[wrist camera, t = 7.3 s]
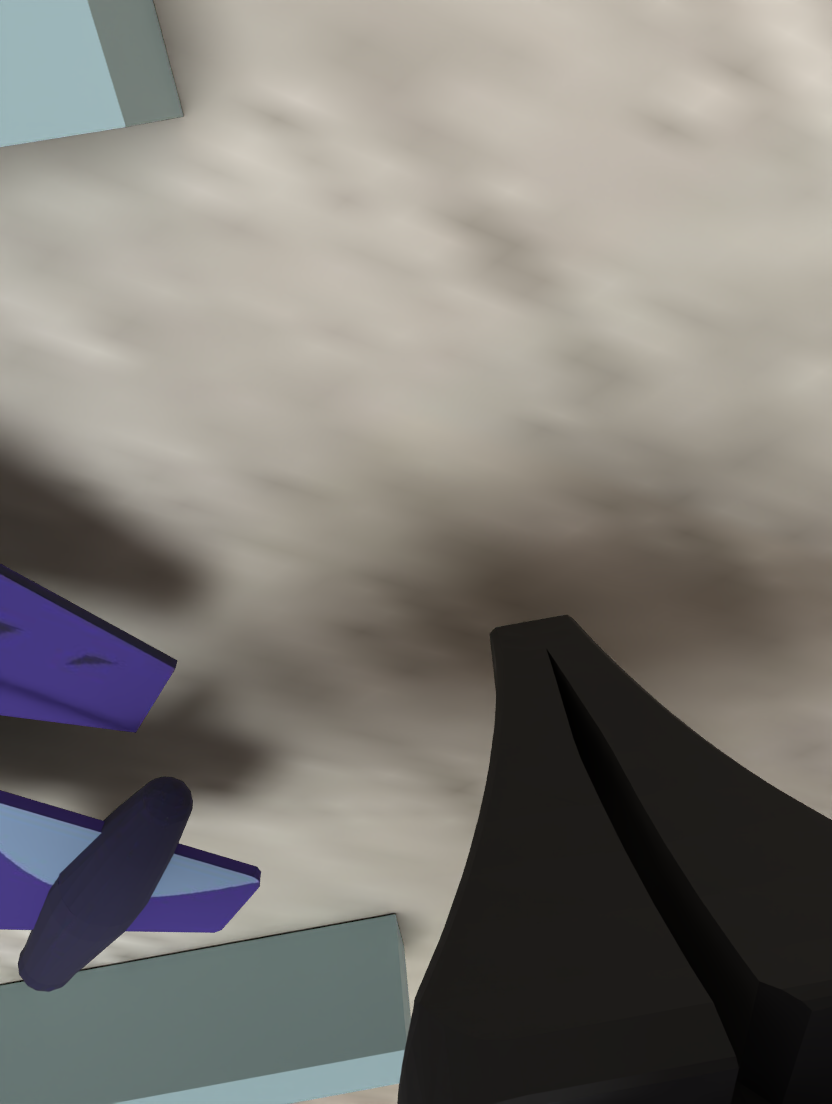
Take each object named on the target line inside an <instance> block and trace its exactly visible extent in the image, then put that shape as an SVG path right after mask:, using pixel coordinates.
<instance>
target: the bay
mask: <svg viewBox="0 0 832 1104" xmlns="http://www.w3.org/2000/svg"><path fill="white" fill-rule="evenodd" d="M178 117H184V116H183V112H182V108H181V105H180V101H179V97H178V93H177V90H176V86H175V82H174V78H173V74H172V71H171V67H170V63H169V59H168V56H167V52H166V48H165V44H164V41H163V37H162V33H161V29H160V25H159V22H158V18H157V14H156V10H155V7H154V3H153V0H0V147H4V146H10V145H17V144H23V143H29V142H35V141H42V140H48V139H54V138H60V137H67V136H73V135H79V134H85V133H92V132H98V131H104V130H110V129H117V128H123V127H129V126H134V125H140V124H145V123H151V122H156V121H162V120H167V119H173V118H178ZM410 1022H411V1016H410V1005H409V995H408V984H407V973H406V963H405V952H404V945H403V941H402V937H401V934H400V930H399V926H398V922H397V918H396V915H395V914H394V915H389V916H383V917H378V918H372V919H366V920H361V921H355V922H350V923H344V924H339V925H333V926H328V927H322V928H317V929H311V930H306V931H300V932H294V933H289V934H283V935H278V936H272V937H267V938H261V939H256V940H250V941H245V942H239V943H234V944H228V945H223V946H217V947H211V948H206V949H200V950H195V951H189V952H184V953H178V954H173V955H167V956H162V957H156V958H151V959H145V960H139V961H134V962H128V963H123V964H117V965H112V966H106V967H101V968H95V969H90V970H84V971H79V972H77V973H76V974H75V975H74V976H73V977H72V978H71V979H70V980H69V981H68V982H67V983H66V984H65V985H64V986H63V987H62V988H59V989H56V990H53V991H50V992H46V991H36V990H34V989H32V988H30V987H28V986H27V984H26V983H25V982H24V981H23V982H18V983H12V984H7V985H1V986H0V1104H290V1103H295V1102H301V1101H306V1100H312V1099H317V1098H323V1097H328V1096H333V1095H339V1094H344V1093H350V1092H355V1091H360V1090H366V1089H371V1088H377V1087H382V1086H387V1085H393V1084H398V1083H399V1082H400V1075H401V1068H402V1062H403V1057H404V1051H405V1046H406V1041H407V1036H408V1031H409V1027H410Z"/></svg>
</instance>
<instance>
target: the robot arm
mask: <svg viewBox="0 0 832 1104" xmlns="http://www.w3.org/2000/svg"><path fill="white" fill-rule="evenodd" d="M490 642H491V651H492V660H493V669H494V678H495V687H496V712H495V726H494V734H493V741H492V749H491V756H490V764H489V770H488V775H487V781H486V786H485V791H484V796H483V800H482V805H481V809H480V814H479V818H478V822H477V825H476V829H475V833H474V837H473V841H472V844H471V848H470V852H469V855H468V859H467V862H466V865H465V869H464V872H463V875H462V878H461V881H460V884H459V887H458V890H457V892H456V895H455V898H454V901H453V904H452V907H451V910H450V913H449V915H448V918H447V921H446V924H445V927H444V929H443V932H442V935H441V937H440V940H439V942H438V945H437V947H436V949H435V952H434V954H433V956H432V959H431V961H430V964H429V966H428V968H427V971H426V973H425V975H424V978H423V980H422V982H421V985H420V987H419V990H418V992H417V994H416V997H415V1000H414V1008H413V1013H412V1017H411V1022H410V1027H409V1031H408V1036H407V1041H406V1046H405V1051H404V1057H403V1062H402V1068H401V1075H400V1082H399V1091H398V1104H832V820H831V819H829V818H827V817H825V816H824V815H822V814H820V813H818V812H817V811H815V810H813V809H811V808H810V807H808V806H806V805H804V804H803V803H801V802H799V801H797V800H796V799H794V798H792V797H791V796H789V795H787V794H785V793H784V792H782V791H780V790H778V789H777V788H775V787H774V786H772V785H771V784H769V783H767V782H766V781H764V780H763V779H761V778H760V777H758V776H757V775H755V774H753V773H752V772H750V771H749V770H747V769H746V768H744V767H743V766H742V765H740V764H739V763H737V762H736V761H734V760H733V759H731V758H730V757H729V756H727V755H726V754H724V753H723V752H721V751H720V750H719V749H717V748H716V747H715V746H713V745H712V744H710V743H709V742H708V741H706V740H705V739H704V738H702V737H701V736H700V735H699V734H697V733H696V732H695V731H693V730H692V729H691V728H690V727H688V726H687V725H686V724H685V723H683V722H682V721H681V720H680V719H678V718H677V717H676V716H675V715H673V714H672V713H671V712H670V711H669V710H667V709H666V708H665V707H664V706H663V705H661V704H660V703H659V702H658V701H657V700H656V699H654V698H653V697H652V696H651V695H650V694H649V693H648V692H647V691H646V690H644V689H643V688H642V687H641V686H640V685H639V684H638V683H637V682H636V681H634V680H633V679H632V678H631V677H630V676H629V675H628V674H627V673H626V672H625V671H624V670H623V669H621V668H620V667H619V666H618V665H617V664H616V663H615V662H614V661H613V660H612V659H611V658H610V657H609V656H608V655H607V654H606V653H605V652H604V651H603V650H602V649H601V648H600V647H599V646H598V645H597V644H596V643H595V642H594V641H593V640H592V639H591V638H590V636H589V635H588V634H587V633H586V632H585V631H584V630H583V629H582V628H581V627H580V626H579V625H578V624H577V622H576V621H575V620H574V619H573V618H571V617H570V616H568V615H562V616H557V617H551V618H546V619H540V620H534V621H529V622H523V623H518V624H512V625H507V626H501V627H496V628H495V629H494V630H493V631H492V632H491V633H490Z"/></svg>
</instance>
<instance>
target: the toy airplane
mask: <svg viewBox="0 0 832 1104" xmlns="http://www.w3.org/2000/svg"><path fill="white" fill-rule="evenodd" d="M176 664H177V660H175V659H174V658H172V657H170V656H168V655H166V654H165V653H163V652H161V651H159V650H157V649H155V648H154V647H152V646H150V645H148V644H146V643H144V642H143V641H141V640H139V639H137V638H135V637H133V636H132V635H130V634H128V633H126V632H124V631H123V630H121V629H119V628H117V627H115V626H113V625H112V624H110V623H108V622H106V621H104V620H102V619H101V618H99V617H97V616H95V615H93V614H91V613H90V612H88V611H86V610H84V609H82V608H81V607H79V606H77V605H75V604H73V603H71V602H70V601H68V600H66V599H64V598H62V597H60V596H59V595H57V594H55V593H53V592H51V591H49V590H48V589H46V588H44V587H42V586H40V585H39V584H37V583H35V582H33V581H31V580H29V579H28V578H26V577H24V576H22V575H20V574H18V573H17V572H15V571H13V570H11V569H9V568H7V567H6V566H4V565H2V564H0V715H3V716H10V717H18V718H26V719H34V720H42V721H49V722H57V723H65V724H73V725H81V726H88V727H96V728H104V729H112V730H119V731H127V732H135V733H136V732H137V730H138V728H139V727H140V725H141V723H142V722H143V720H144V719H145V717H146V715H147V714H148V712H149V710H150V709H151V707H152V706H153V704H154V702H155V701H156V699H157V698H158V696H159V694H160V693H161V691H162V689H163V688H164V686H165V685H166V683H167V681H168V680H169V678H170V676H171V675H172V673H173V672H174V670H175V668H176ZM192 806H193V800H192V796H191V791H190V790H189V788H188V787H187V786H186V784H185V783H184V782H183V781H180V780H178V779H176V778H173V777H160V778H156V779H154V780H152V781H150V782H149V783H147V784H146V785H145V786H144V787H142V788H141V789H140V790H139V791H138V792H136V793H135V794H134V795H133V796H131V797H130V798H129V799H128V800H126V801H125V802H124V803H123V804H121V805H120V806H119V807H118V808H117V809H116V810H114V811H113V812H112V813H111V814H110V815H109V816H108V817H107V818H106V819H105V820H104V821H102V820H98V819H95V818H92V817H88V816H85V815H82V814H78V813H75V812H72V811H68V810H65V809H62V808H58V807H55V806H51V805H48V804H45V803H41V802H38V801H35V800H31V799H28V798H25V797H21V796H18V795H15V794H11V793H8V792H5V791H1V790H0V929H8V930H31V933H30V935H29V938H28V940H27V943H26V945H25V947H24V948H23V950H22V951H21V953H20V957H19V961H18V968H19V975H20V976H21V978H22V979H23V980H24V982H25V983H26V984H27V986H28V987H30V988H32V989H34V990H36V991H46V992H50V991H53V990H56V989H59V988H62V987H63V986H64V985H65V984H66V983H67V982H68V981H69V980H70V979H71V978H72V977H73V976H74V975H75V974H76V973H77V972H78V971H80V970H81V969H82V968H83V967H84V966H85V965H87V964H88V963H89V962H90V961H91V960H92V959H94V958H95V957H96V956H97V955H98V954H99V953H101V952H102V951H103V950H104V949H105V948H106V947H107V946H109V945H110V944H111V943H112V942H113V941H114V940H116V939H117V938H118V937H119V936H120V935H121V934H123V933H124V932H125V931H143V932H210V933H215V932H217V931H220V930H222V929H223V928H224V927H225V925H226V924H227V923H228V922H229V921H230V920H231V919H232V918H233V916H234V915H235V914H236V913H237V912H238V911H239V910H240V908H241V907H242V906H243V905H244V904H245V903H246V902H247V900H248V899H249V898H250V897H251V896H252V895H253V894H254V893H255V891H256V890H257V889H258V888H259V887H260V876H261V871H260V870H259V869H258V867H256V866H253V865H249V864H246V863H243V862H239V861H236V860H233V859H229V858H226V857H222V856H219V855H216V854H212V853H209V852H206V851H202V850H199V849H196V848H192V847H189V846H186V845H182V844H179V840H180V838H181V835H182V833H183V831H184V828H185V826H186V823H187V821H188V819H189V816H190V814H191V811H192Z"/></svg>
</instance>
